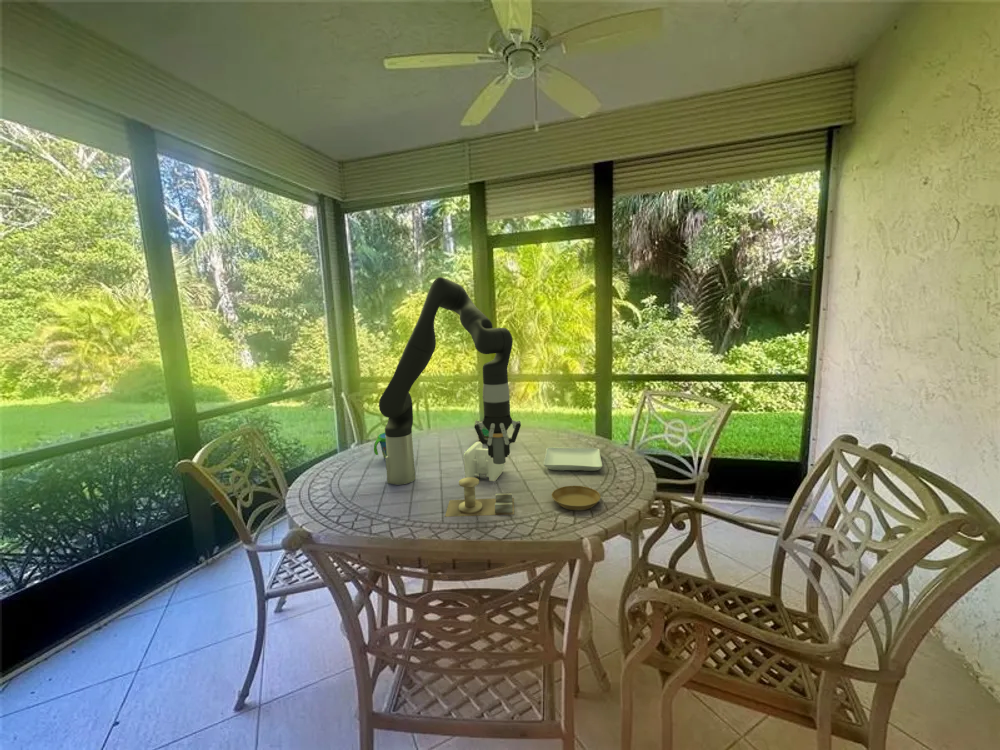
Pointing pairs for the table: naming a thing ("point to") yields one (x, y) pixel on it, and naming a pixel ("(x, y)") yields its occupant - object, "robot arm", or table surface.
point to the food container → (484, 430)
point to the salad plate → (572, 458)
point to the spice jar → (498, 448)
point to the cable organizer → (481, 463)
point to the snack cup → (383, 445)
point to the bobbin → (469, 496)
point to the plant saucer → (576, 497)
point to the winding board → (485, 506)
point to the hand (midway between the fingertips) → (499, 456)
